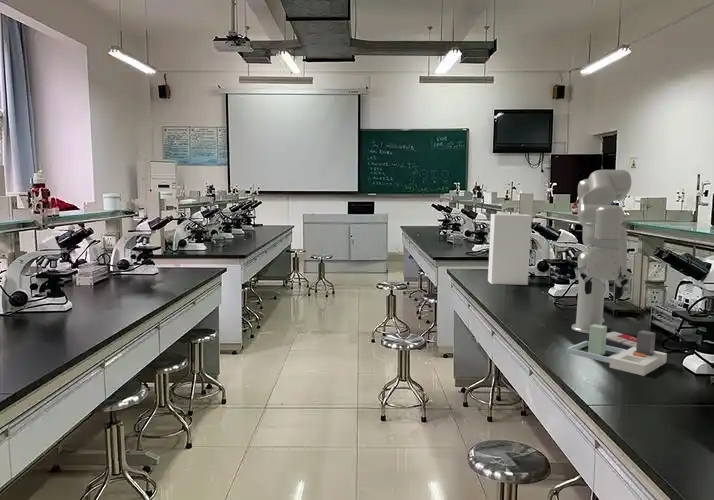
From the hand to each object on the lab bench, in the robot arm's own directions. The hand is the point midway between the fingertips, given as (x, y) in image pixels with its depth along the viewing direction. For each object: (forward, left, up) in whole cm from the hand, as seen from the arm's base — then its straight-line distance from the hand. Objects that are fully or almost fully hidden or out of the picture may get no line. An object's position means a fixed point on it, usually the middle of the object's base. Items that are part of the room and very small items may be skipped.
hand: (602, 296), depth 183 cm
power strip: (+2, +13, -21) cm, 25 cm away
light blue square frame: (0, -1, -21) cm, 21 cm away
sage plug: (0, -1, -20) cm, 20 cm away
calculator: (-18, +1, -21) cm, 28 cm away
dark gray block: (-3, +13, -20) cm, 24 cm away
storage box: (-103, -98, -21) cm, 144 cm away
